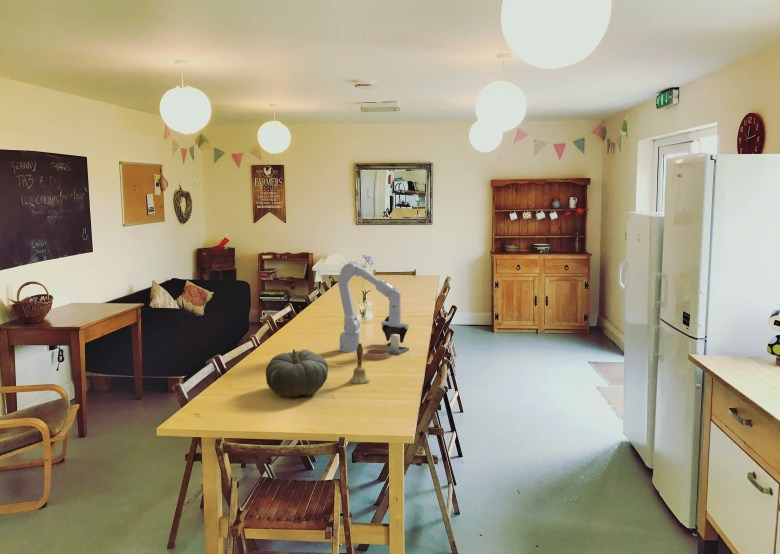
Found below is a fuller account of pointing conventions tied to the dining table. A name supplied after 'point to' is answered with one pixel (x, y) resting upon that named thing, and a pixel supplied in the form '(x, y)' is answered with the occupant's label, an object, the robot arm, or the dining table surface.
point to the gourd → (296, 373)
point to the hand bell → (359, 369)
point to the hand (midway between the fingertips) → (394, 341)
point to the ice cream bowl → (392, 330)
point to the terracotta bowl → (377, 354)
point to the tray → (401, 350)
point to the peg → (394, 342)
